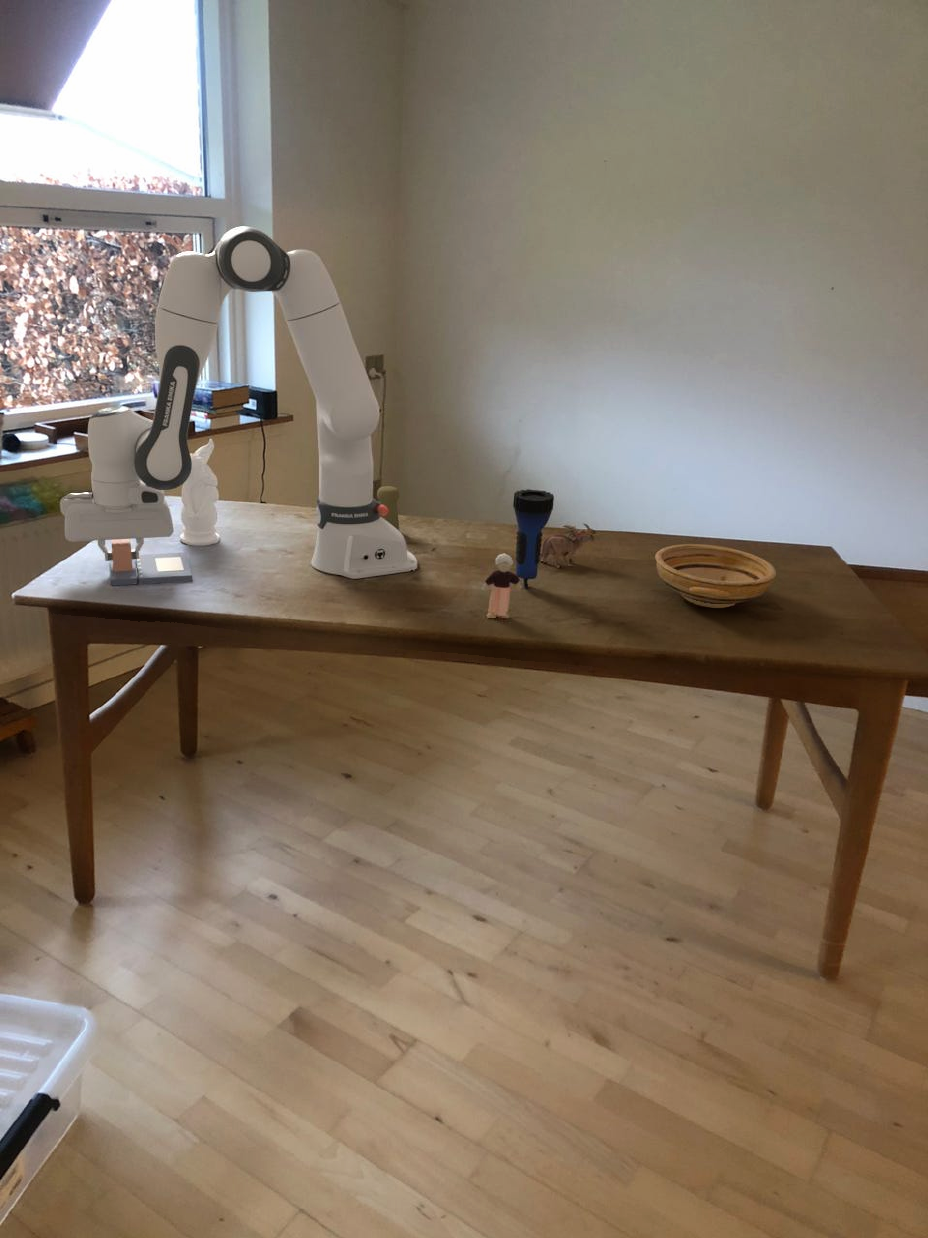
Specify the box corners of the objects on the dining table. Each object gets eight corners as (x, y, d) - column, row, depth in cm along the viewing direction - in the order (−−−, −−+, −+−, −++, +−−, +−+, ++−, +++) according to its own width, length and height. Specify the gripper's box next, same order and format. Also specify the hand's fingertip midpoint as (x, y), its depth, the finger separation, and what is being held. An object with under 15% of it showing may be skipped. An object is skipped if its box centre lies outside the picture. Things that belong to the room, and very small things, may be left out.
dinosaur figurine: (578, 556, 218) (582, 517, 215) (592, 564, 214) (597, 525, 210) (526, 562, 213) (530, 522, 209) (539, 570, 208) (543, 530, 204)
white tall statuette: (199, 550, 207) (192, 450, 198) (154, 540, 211) (146, 442, 202) (234, 535, 217) (230, 440, 208) (191, 526, 221) (185, 431, 213)
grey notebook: (185, 557, 202) (185, 551, 201) (192, 580, 190) (192, 574, 189) (135, 560, 198) (135, 554, 198) (139, 584, 186) (138, 578, 186)
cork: (395, 537, 223) (397, 491, 219) (371, 534, 224) (372, 488, 220) (402, 530, 228) (404, 485, 224) (378, 527, 229) (379, 482, 225)
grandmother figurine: (485, 622, 179) (490, 558, 174) (477, 614, 182) (482, 551, 177) (522, 618, 182) (528, 555, 177) (513, 610, 185) (519, 548, 180)
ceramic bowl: (768, 634, 182) (776, 595, 179) (641, 613, 188) (647, 575, 185) (769, 584, 208) (776, 550, 205) (657, 567, 214) (662, 533, 211)
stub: (133, 560, 198) (131, 531, 196) (137, 583, 186) (134, 553, 184) (110, 561, 196) (107, 532, 194) (112, 585, 184) (109, 555, 182)
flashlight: (517, 597, 192) (525, 501, 184) (499, 583, 199) (507, 490, 191) (551, 593, 195) (561, 498, 188) (533, 579, 202) (541, 488, 194)
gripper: (58, 498, 179) (65, 567, 184) (172, 494, 185) (176, 561, 191) (59, 489, 184) (66, 557, 189) (169, 485, 191) (173, 551, 196)
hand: (122, 559), depth 190 cm, fingers closed on stub, 3 cm apart
